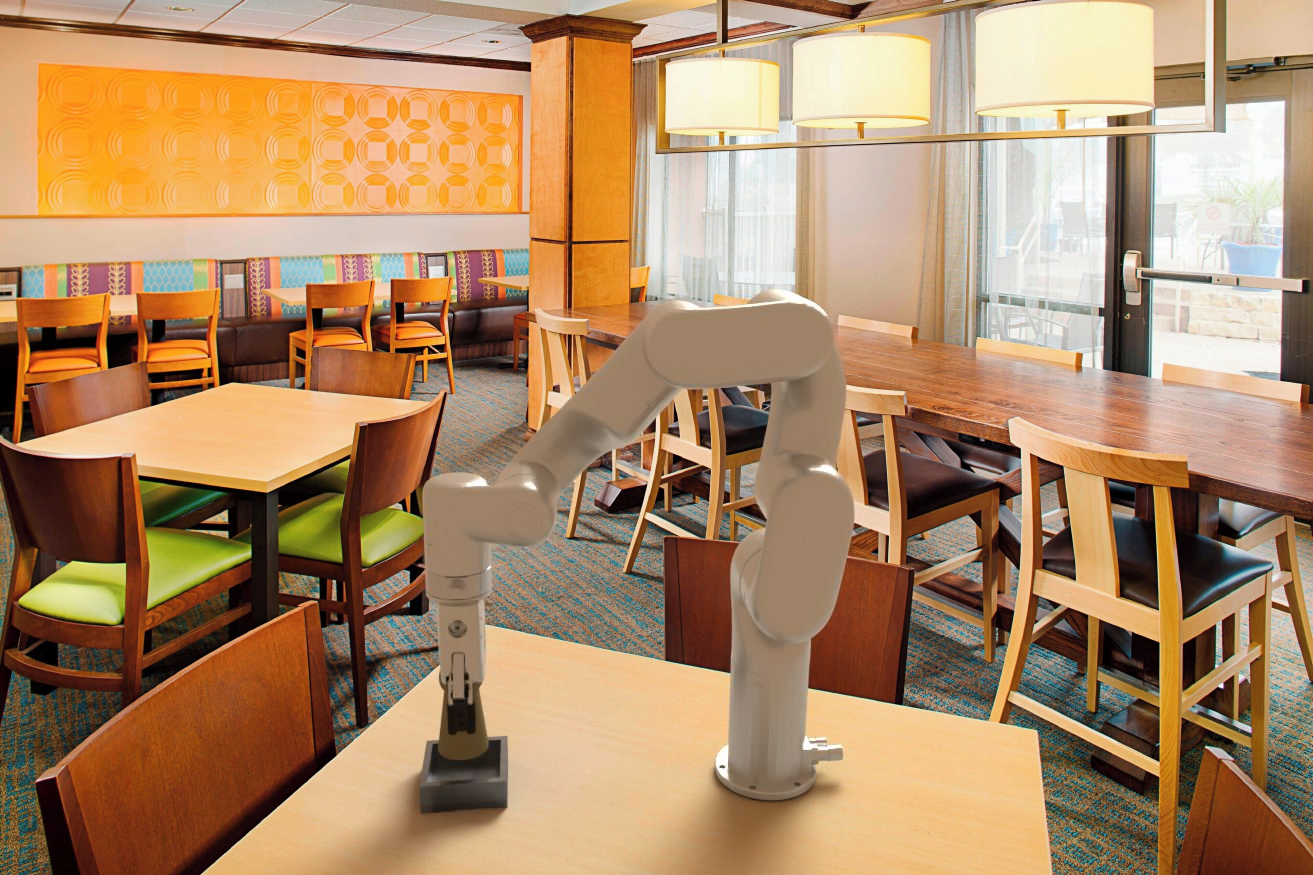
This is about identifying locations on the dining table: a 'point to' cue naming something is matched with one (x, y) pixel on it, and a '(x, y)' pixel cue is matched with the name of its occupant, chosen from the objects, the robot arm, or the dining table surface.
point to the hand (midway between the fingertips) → (463, 721)
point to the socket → (465, 779)
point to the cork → (463, 743)
